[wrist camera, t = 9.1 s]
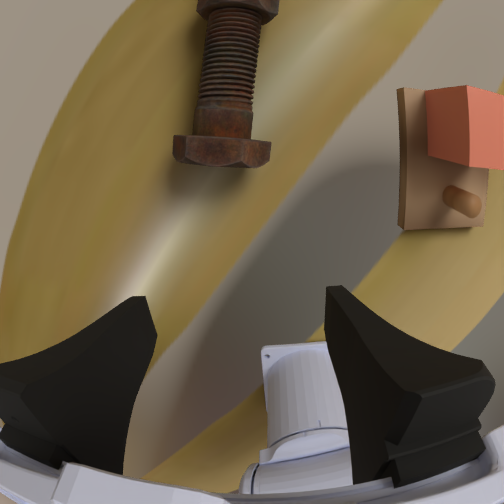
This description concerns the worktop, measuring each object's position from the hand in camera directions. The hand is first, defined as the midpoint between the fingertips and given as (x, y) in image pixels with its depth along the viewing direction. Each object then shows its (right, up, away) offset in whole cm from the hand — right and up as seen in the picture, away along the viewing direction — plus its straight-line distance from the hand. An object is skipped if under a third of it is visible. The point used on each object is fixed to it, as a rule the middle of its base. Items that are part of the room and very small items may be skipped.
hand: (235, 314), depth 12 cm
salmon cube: (+15, +11, +5) cm, 19 cm away
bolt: (0, +16, +5) cm, 16 cm away
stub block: (+15, +9, +7) cm, 19 cm away
